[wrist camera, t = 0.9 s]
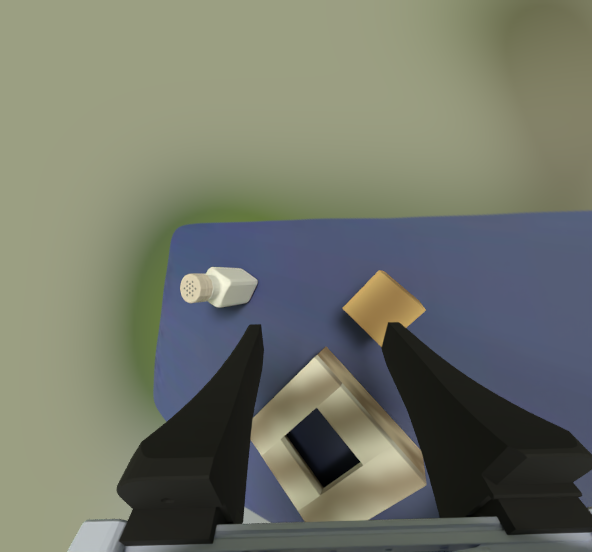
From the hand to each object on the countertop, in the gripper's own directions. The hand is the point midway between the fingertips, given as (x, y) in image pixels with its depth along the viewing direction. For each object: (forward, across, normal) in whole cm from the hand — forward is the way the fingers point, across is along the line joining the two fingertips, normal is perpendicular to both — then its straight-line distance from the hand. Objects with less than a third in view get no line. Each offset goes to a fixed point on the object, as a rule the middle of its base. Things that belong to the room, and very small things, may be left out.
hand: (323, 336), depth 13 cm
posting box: (+5, -2, +20) cm, 21 cm away
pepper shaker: (+19, +9, +8) cm, 22 cm away
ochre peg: (+10, -8, +5) cm, 14 cm away
